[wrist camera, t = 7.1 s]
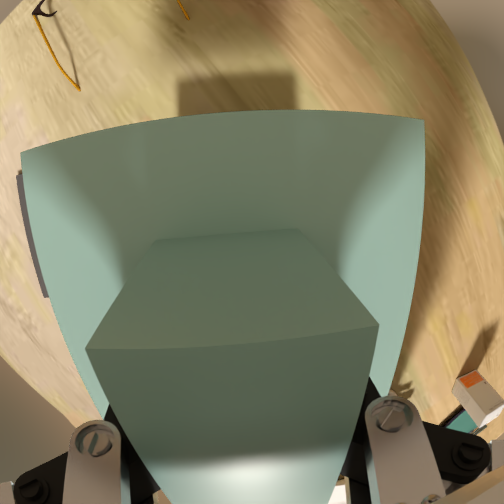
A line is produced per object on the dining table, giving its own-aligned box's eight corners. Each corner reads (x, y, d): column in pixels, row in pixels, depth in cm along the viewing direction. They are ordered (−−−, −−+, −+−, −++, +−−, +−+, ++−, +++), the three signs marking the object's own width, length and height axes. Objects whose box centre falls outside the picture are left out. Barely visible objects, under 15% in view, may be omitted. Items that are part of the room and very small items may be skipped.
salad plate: (295, 509, 59) (297, 518, 56) (311, 479, 52) (313, 490, 49) (364, 495, 61) (367, 504, 58) (391, 461, 54) (396, 471, 51)
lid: (407, 121, 9) (554, 122, 3) (366, 425, 13) (405, 512, 8) (36, 151, 8) (-103, 176, 2) (131, 446, 13) (114, 539, 7)
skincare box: (476, 368, 46) (506, 402, 34) (470, 382, 47) (498, 416, 36) (455, 377, 45) (486, 415, 34) (450, 392, 47) (478, 429, 35)
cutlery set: (488, 380, 49) (493, 385, 46) (489, 420, 58) (492, 424, 56) (423, 432, 51) (427, 439, 49) (439, 459, 61) (442, 464, 59)
